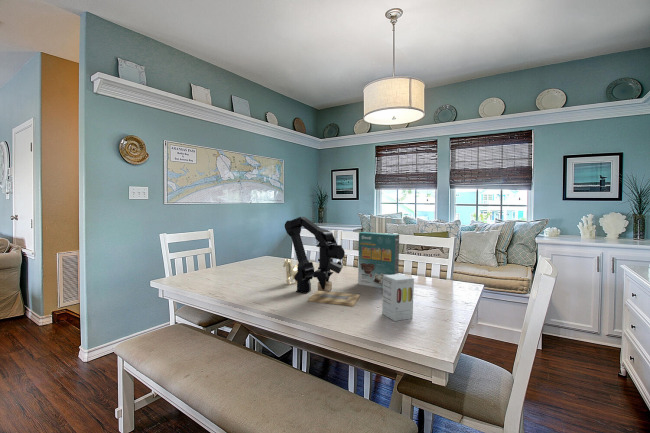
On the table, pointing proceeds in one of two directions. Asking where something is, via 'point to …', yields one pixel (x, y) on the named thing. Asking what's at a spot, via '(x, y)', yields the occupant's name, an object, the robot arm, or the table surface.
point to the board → (334, 298)
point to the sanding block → (327, 286)
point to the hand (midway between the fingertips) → (324, 288)
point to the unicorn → (290, 270)
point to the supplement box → (398, 297)
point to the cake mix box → (377, 257)
